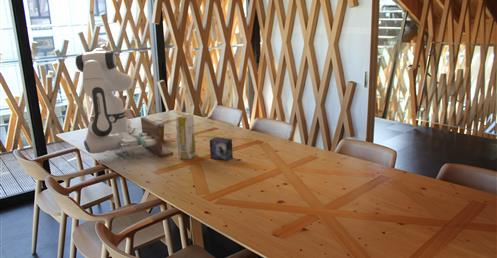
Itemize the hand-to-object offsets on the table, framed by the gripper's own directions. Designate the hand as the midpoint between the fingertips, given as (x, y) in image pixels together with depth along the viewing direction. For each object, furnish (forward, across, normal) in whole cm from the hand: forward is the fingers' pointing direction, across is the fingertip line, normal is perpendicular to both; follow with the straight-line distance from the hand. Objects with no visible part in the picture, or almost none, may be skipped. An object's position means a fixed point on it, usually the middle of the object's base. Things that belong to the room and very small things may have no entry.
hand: (140, 137), depth 238 cm
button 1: (+4, 0, +2) cm, 4 cm away
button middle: (0, -7, +2) cm, 7 cm away
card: (-11, -2, +8) cm, 14 cm away
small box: (+29, -40, +8) cm, 50 cm away
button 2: (0, -14, +2) cm, 14 cm away
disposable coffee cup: (+15, +12, +8) cm, 21 cm away
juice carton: (+16, -27, +8) cm, 32 cm away
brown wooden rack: (+7, -7, +8) cm, 13 cm away
